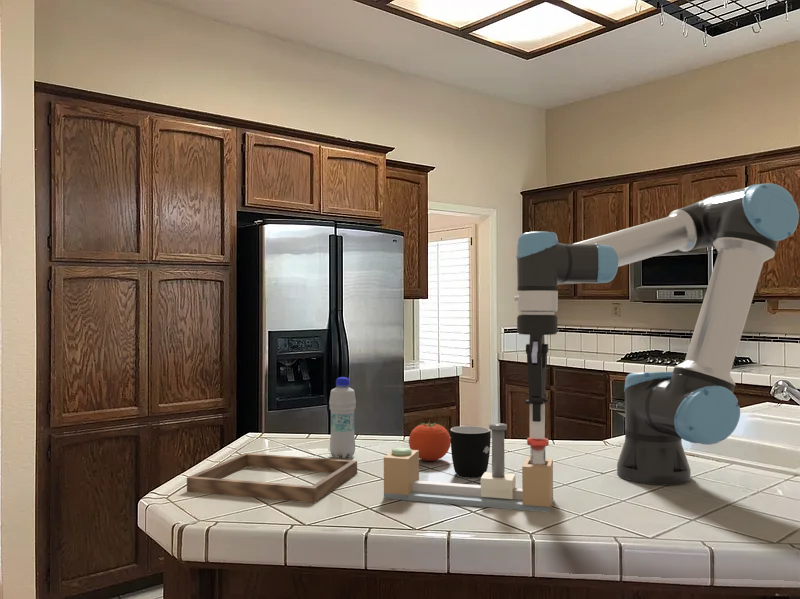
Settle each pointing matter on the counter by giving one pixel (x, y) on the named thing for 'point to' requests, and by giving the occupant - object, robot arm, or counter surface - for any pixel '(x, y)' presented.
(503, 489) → the carriage
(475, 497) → the rail
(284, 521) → the counter surface
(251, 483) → the wooden frame
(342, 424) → the bottle
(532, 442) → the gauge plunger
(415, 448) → the tomato
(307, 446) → the counter surface
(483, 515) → the counter surface
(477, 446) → the mug
